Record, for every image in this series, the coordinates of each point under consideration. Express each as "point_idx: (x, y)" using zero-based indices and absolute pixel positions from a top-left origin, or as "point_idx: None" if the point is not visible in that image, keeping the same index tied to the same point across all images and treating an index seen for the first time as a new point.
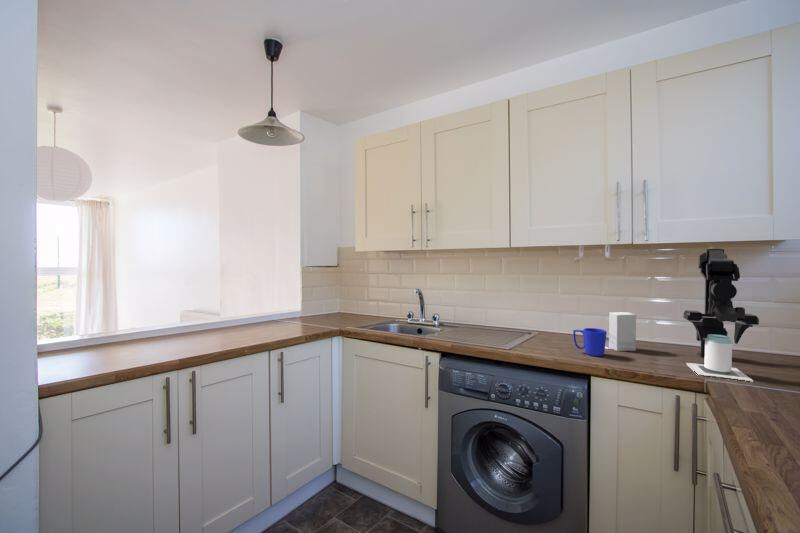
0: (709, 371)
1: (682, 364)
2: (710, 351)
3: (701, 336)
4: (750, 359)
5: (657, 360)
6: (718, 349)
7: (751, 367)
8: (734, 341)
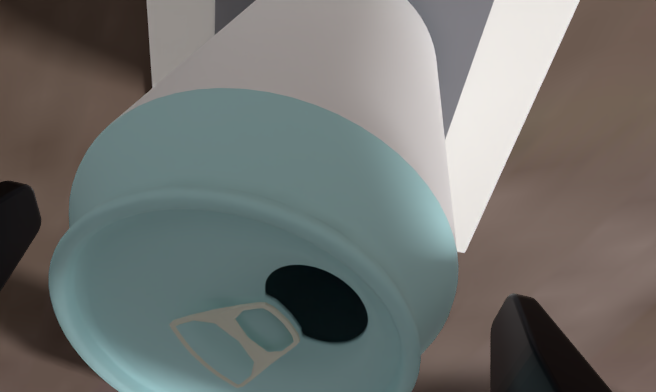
0: (428, 24)
1: (500, 236)
2: (432, 114)
3: (570, 364)
4: (37, 359)
5: (640, 302)
6: (355, 61)
7: (59, 237)
8: (25, 246)
